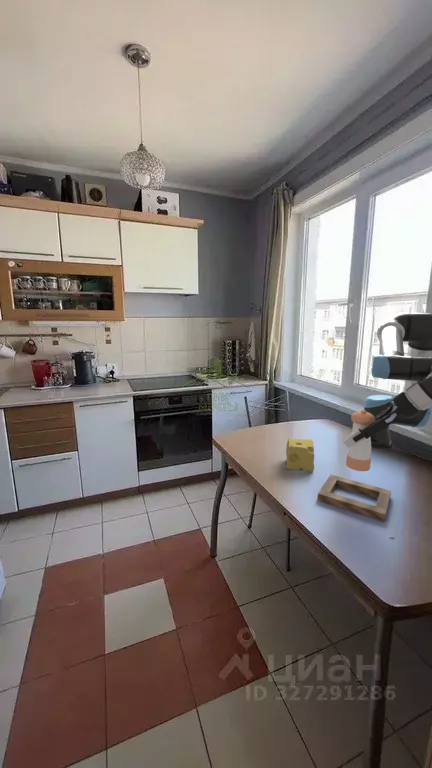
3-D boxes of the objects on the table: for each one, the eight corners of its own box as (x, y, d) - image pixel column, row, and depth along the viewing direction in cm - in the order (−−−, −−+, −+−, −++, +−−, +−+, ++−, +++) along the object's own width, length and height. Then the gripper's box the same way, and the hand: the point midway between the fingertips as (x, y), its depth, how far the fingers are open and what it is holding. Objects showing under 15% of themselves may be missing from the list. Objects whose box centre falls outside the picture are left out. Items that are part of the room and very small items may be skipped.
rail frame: (390, 497, 107) (391, 490, 107) (384, 521, 94) (385, 514, 94) (330, 480, 118) (330, 474, 118) (317, 500, 105) (317, 493, 105)
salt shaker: (368, 473, 99) (375, 415, 95) (344, 467, 103) (349, 411, 99) (371, 464, 105) (377, 409, 101) (348, 459, 109) (353, 405, 105)
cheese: (313, 472, 124) (315, 448, 122) (285, 469, 126) (287, 446, 124) (311, 461, 134) (313, 439, 132) (285, 458, 136) (286, 436, 134)
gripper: (421, 419, 84) (349, 461, 96) (423, 404, 99) (361, 442, 111) (401, 397, 85) (333, 440, 98) (405, 385, 100) (346, 424, 113)
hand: (348, 441), depth 104 cm, fingers closed on salt shaker, 5 cm apart
